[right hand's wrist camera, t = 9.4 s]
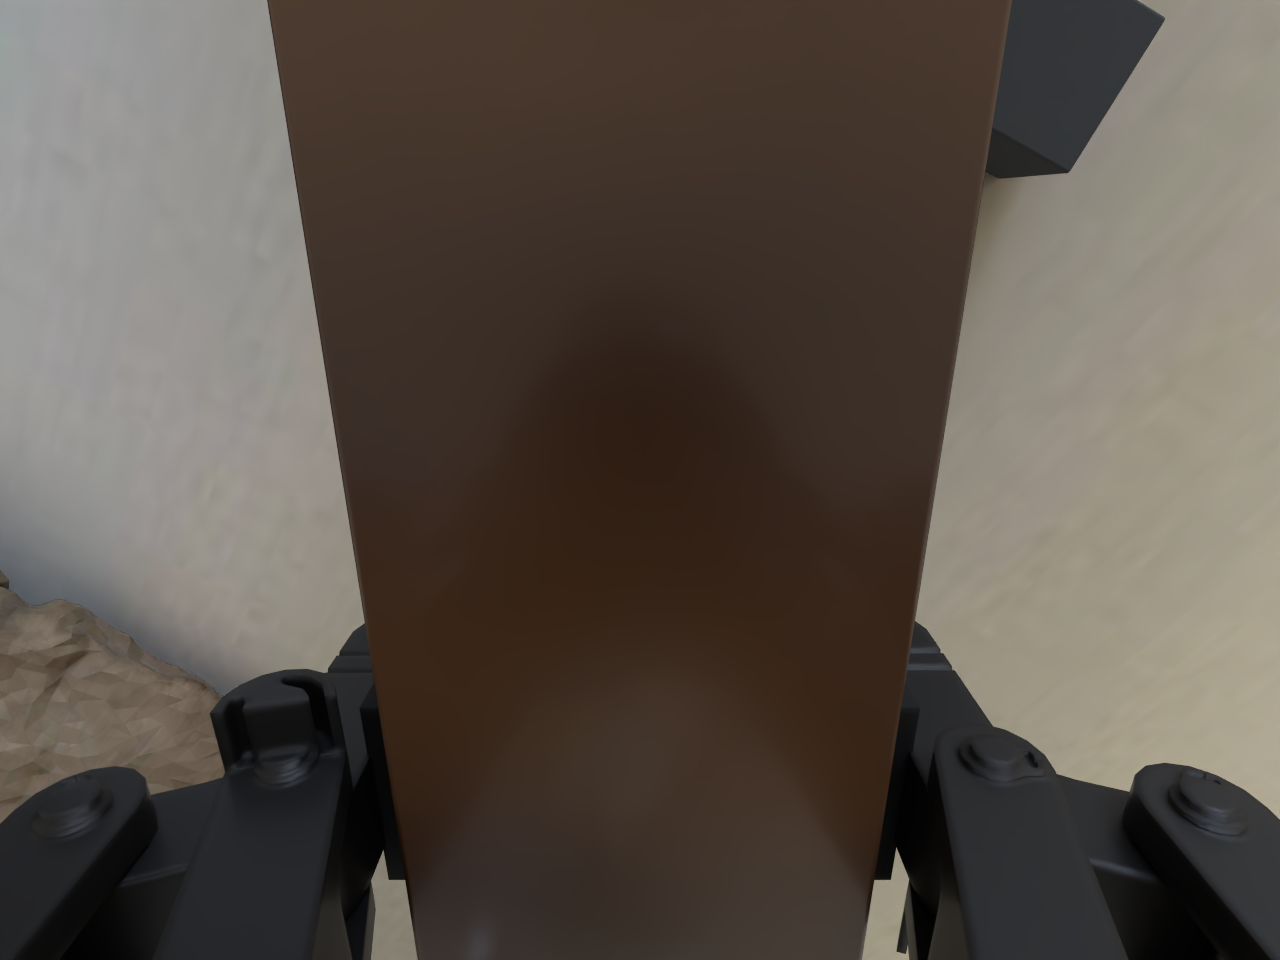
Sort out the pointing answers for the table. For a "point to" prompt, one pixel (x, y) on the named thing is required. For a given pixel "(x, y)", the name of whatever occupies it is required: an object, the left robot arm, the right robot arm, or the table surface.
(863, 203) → the walnut bar
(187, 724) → the stone
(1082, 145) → the grey block
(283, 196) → the table surface
